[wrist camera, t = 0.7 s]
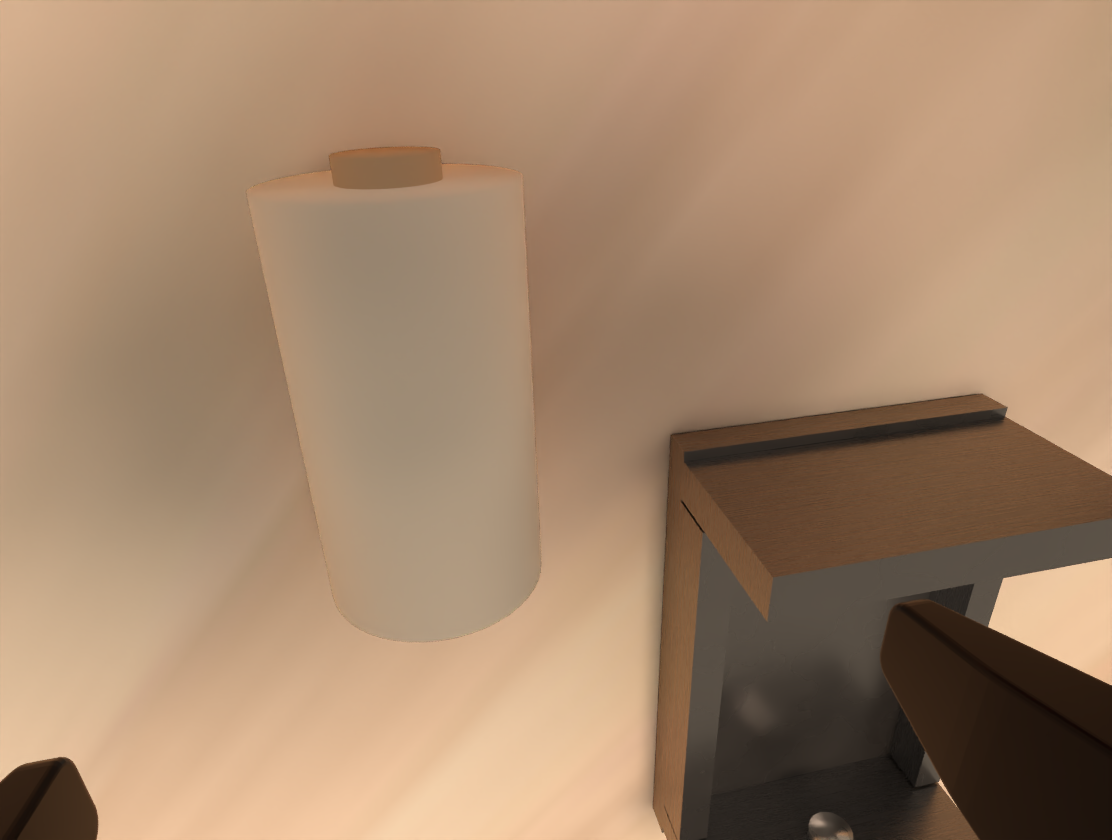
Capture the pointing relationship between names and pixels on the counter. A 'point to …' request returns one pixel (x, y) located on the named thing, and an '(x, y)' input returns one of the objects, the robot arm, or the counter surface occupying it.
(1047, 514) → the holder
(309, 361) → the roll
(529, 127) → the counter surface
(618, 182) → the counter surface
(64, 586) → the counter surface
